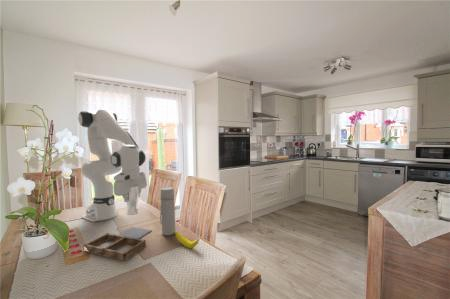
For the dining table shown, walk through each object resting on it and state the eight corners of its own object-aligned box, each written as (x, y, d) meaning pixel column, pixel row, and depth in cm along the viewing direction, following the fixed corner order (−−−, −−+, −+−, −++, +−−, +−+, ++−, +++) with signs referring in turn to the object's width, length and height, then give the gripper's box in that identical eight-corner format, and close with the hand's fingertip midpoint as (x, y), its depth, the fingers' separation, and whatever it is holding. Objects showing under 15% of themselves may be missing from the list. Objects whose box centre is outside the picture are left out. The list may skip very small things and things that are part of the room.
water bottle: (178, 231, 119) (177, 187, 118) (169, 237, 112) (167, 190, 110) (165, 228, 123) (164, 186, 121) (156, 234, 116) (154, 189, 114)
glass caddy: (84, 251, 100) (83, 245, 100) (107, 238, 112) (107, 233, 112) (124, 260, 91) (124, 254, 91) (145, 246, 103) (145, 240, 103)
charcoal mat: (115, 237, 114) (115, 236, 113) (132, 228, 125) (132, 227, 125) (135, 241, 109) (135, 240, 109) (151, 231, 120) (151, 230, 120)
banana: (177, 239, 110) (177, 227, 110) (201, 251, 97) (201, 238, 97) (172, 241, 108) (172, 228, 108) (196, 254, 95) (196, 240, 95)
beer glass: (128, 211, 119) (127, 185, 118) (141, 211, 119) (140, 184, 119) (123, 215, 112) (122, 187, 112) (137, 215, 112) (136, 186, 112)
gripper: (140, 171, 126) (141, 194, 126) (110, 177, 107) (112, 204, 107) (148, 171, 123) (149, 195, 124) (120, 178, 104) (121, 205, 105)
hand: (132, 199), depth 116 cm, fingers closed on beer glass, 6 cm apart
